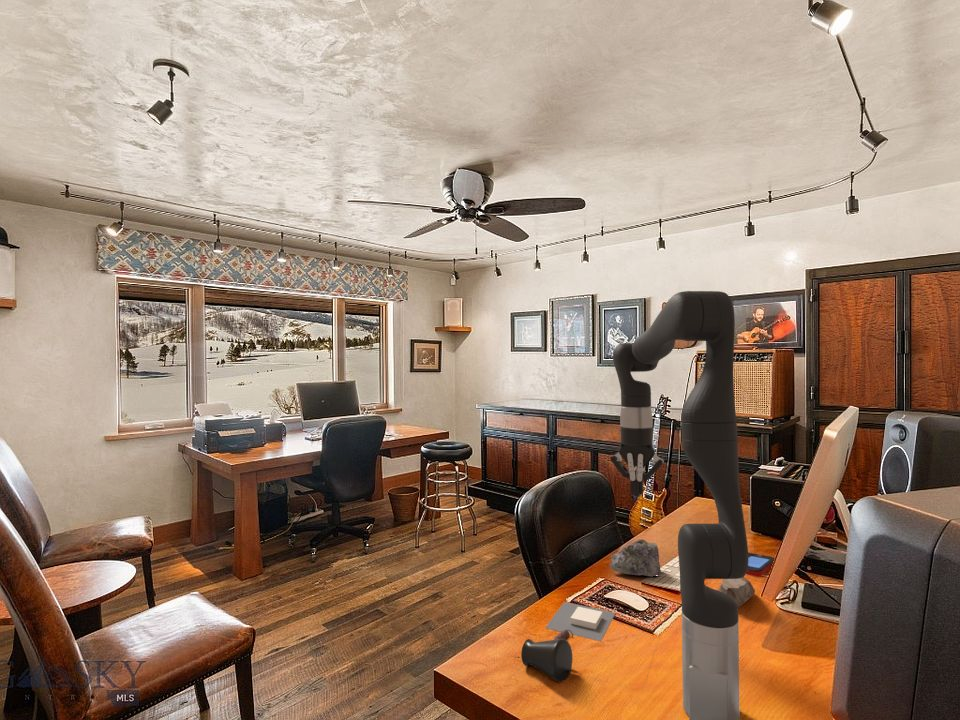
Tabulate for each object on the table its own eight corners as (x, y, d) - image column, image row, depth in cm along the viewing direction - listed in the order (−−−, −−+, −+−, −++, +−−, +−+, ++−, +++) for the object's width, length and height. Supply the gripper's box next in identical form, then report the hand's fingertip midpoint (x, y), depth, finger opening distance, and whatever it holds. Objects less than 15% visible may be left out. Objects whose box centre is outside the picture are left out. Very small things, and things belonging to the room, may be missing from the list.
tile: (570, 624, 122) (595, 630, 119) (570, 617, 122) (595, 623, 119) (578, 612, 127) (602, 618, 124) (578, 606, 127) (602, 611, 124)
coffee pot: (555, 688, 99) (518, 678, 104) (598, 657, 113) (564, 650, 118) (552, 645, 100) (516, 638, 106) (595, 620, 114) (561, 614, 119)
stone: (734, 620, 124) (764, 590, 124) (704, 589, 128) (733, 561, 129) (728, 616, 137) (754, 590, 137) (700, 589, 141) (727, 563, 142)
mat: (600, 643, 114) (600, 641, 114) (545, 629, 120) (545, 627, 120) (615, 614, 127) (615, 612, 127) (564, 603, 133) (564, 601, 133)
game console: (734, 553, 165) (734, 546, 165) (778, 565, 156) (778, 557, 155) (714, 566, 156) (713, 558, 156) (759, 579, 146) (759, 571, 146)
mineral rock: (608, 574, 150) (607, 539, 150) (622, 561, 159) (621, 529, 159) (653, 585, 143) (652, 548, 143) (665, 571, 151) (664, 537, 151)
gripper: (605, 425, 126) (606, 496, 127) (662, 428, 120) (663, 502, 120) (612, 421, 133) (613, 489, 133) (667, 424, 127) (668, 494, 127)
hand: (637, 495), depth 127 cm, fingers closed
